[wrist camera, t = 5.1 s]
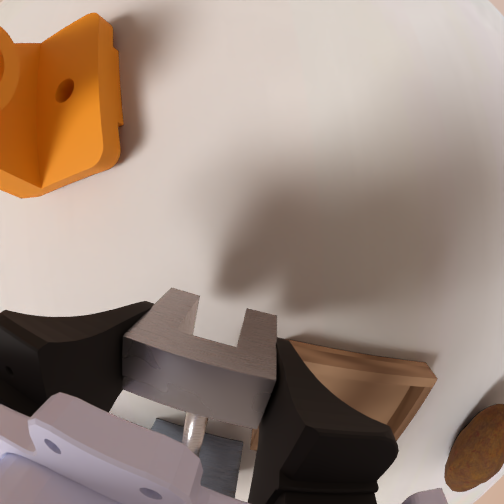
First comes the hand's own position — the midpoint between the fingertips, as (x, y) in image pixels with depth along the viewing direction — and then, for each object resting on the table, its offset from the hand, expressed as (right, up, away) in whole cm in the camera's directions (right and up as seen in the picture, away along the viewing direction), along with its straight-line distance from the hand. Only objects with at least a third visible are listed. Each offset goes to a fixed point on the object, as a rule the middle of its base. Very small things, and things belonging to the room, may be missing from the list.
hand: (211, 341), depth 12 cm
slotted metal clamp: (0, 0, +2) cm, 2 cm away
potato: (+22, -14, +6) cm, 27 cm away
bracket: (-10, +13, +3) cm, 17 cm away
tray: (+8, -7, +6) cm, 12 cm away
